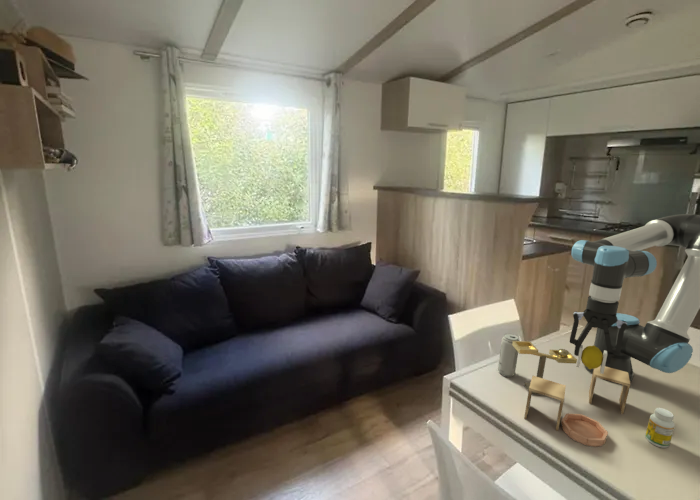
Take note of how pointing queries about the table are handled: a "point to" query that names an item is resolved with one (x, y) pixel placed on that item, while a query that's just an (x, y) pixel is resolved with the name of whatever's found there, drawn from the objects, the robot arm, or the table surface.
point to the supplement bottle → (660, 428)
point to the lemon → (591, 357)
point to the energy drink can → (508, 356)
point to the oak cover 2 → (612, 376)
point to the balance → (543, 357)
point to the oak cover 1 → (546, 393)
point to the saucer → (584, 430)
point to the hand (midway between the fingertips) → (589, 368)
